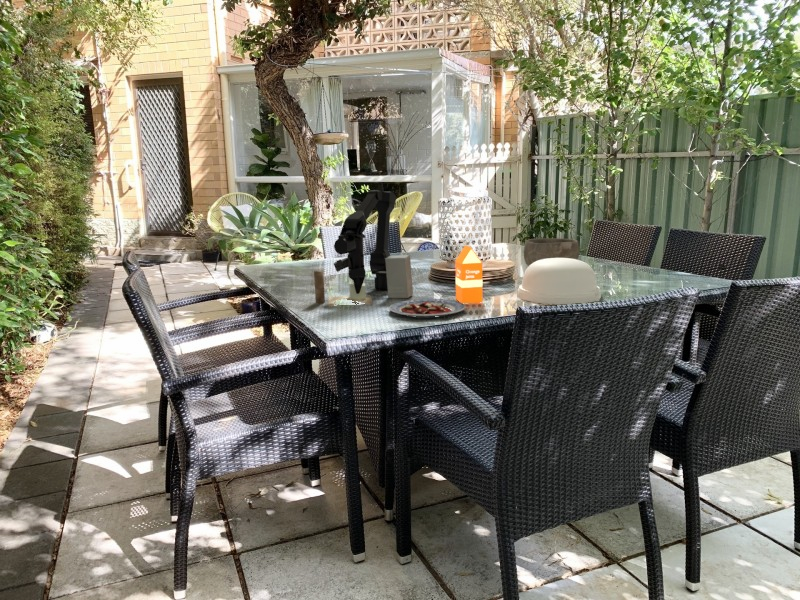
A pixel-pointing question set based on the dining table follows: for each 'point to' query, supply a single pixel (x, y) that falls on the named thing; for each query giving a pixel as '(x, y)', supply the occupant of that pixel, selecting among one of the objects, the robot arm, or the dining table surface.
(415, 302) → the ceramic plate
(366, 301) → the board
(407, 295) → the skincare box
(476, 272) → the orange juice
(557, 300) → the dome cover
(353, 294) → the grey green block
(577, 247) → the bowl
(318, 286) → the peg
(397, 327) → the dining table surface
